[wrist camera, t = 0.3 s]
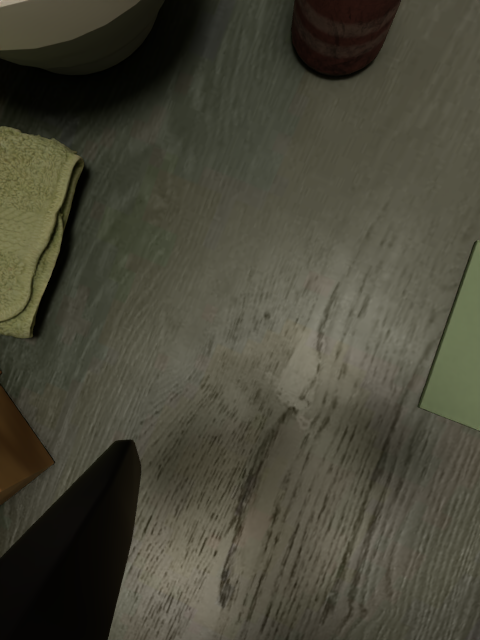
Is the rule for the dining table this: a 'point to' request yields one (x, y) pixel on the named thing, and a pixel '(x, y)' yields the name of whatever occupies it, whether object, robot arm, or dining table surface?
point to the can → (340, 32)
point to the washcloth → (31, 221)
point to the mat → (459, 356)
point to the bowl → (74, 32)
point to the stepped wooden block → (18, 450)
